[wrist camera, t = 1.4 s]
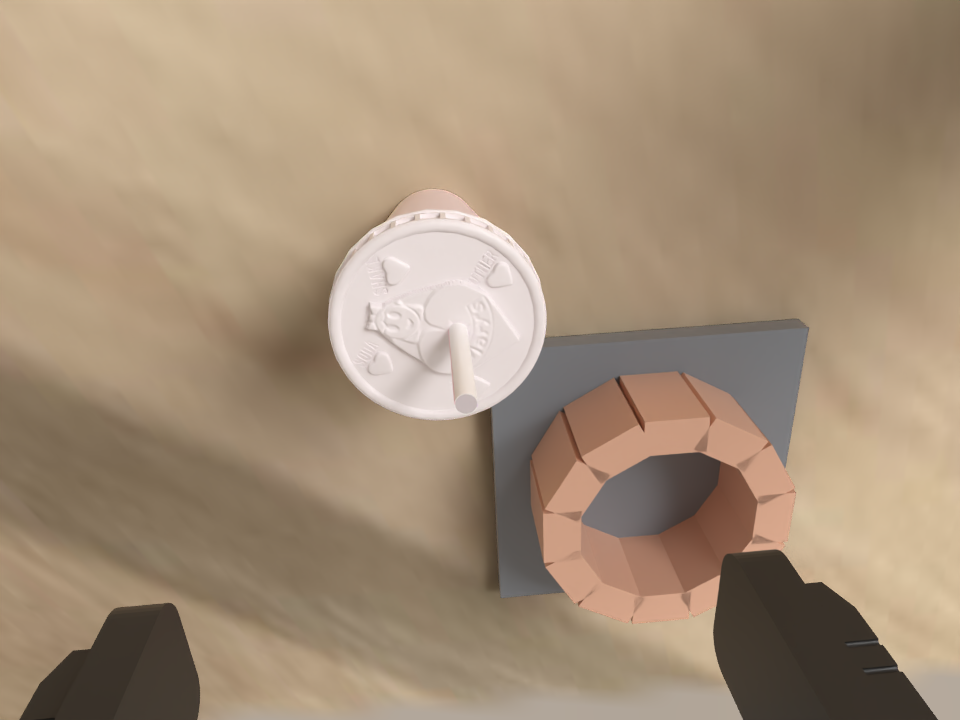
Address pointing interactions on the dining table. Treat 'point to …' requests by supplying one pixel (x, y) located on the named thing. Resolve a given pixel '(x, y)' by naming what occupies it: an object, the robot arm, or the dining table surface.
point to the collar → (645, 464)
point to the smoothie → (436, 311)
